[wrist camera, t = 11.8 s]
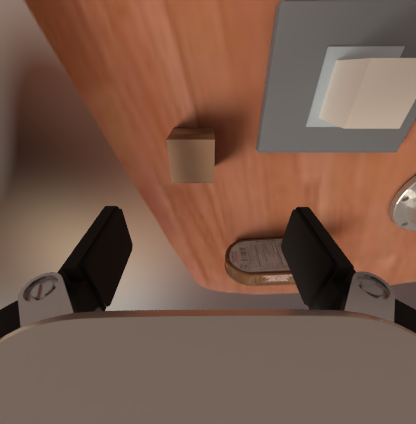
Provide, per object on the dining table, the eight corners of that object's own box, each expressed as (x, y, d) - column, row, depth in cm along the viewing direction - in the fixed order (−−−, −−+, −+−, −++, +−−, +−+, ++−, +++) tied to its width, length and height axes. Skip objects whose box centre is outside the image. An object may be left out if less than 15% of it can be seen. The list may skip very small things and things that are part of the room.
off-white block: (388, 60, 19) (438, 58, 15) (364, 117, 22) (399, 128, 18) (336, 60, 19) (370, 58, 15) (318, 117, 22) (343, 128, 18)
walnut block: (214, 127, 24) (215, 139, 20) (213, 166, 27) (214, 183, 23) (173, 127, 24) (166, 139, 20) (177, 166, 27) (171, 183, 23)
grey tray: (465, 4, 18) (486, -2, 16) (387, 148, 25) (397, 152, 24) (276, 5, 18) (281, 0, 16) (255, 148, 25) (258, 152, 24)
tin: (223, 249, 37) (226, 290, 30) (222, 237, 35) (226, 278, 28) (305, 245, 36) (327, 286, 29) (308, 232, 34) (333, 273, 27)
